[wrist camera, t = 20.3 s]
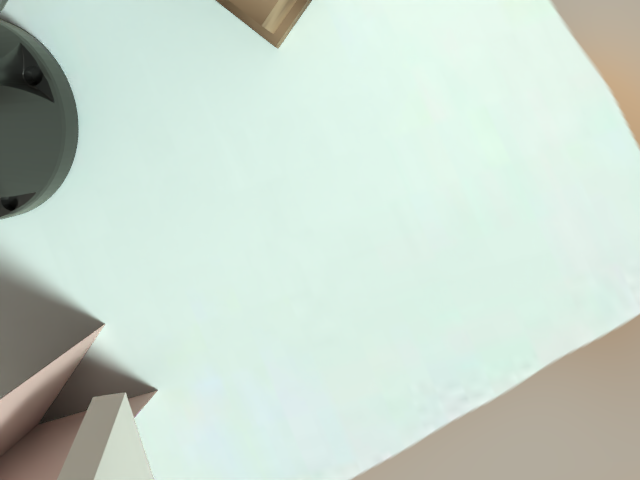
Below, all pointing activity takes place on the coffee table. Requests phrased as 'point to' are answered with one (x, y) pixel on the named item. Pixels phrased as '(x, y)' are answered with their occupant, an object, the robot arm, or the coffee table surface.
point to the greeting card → (50, 437)
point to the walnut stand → (268, 16)
